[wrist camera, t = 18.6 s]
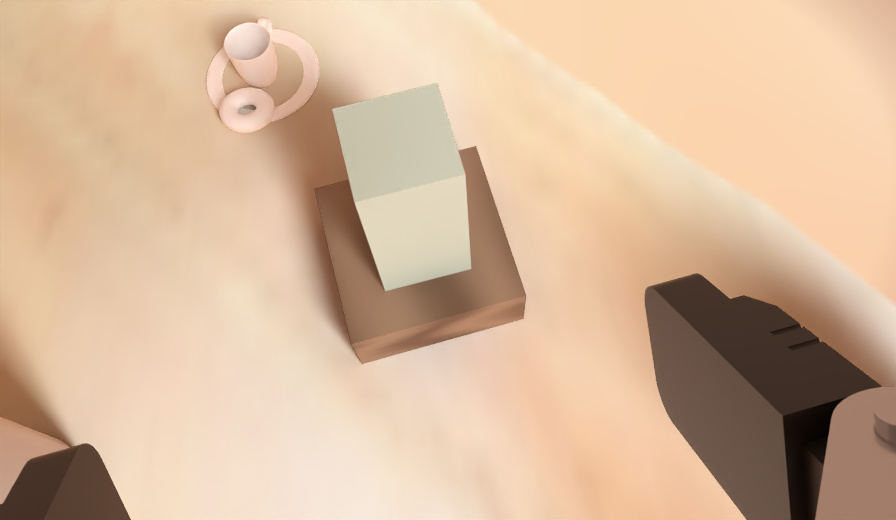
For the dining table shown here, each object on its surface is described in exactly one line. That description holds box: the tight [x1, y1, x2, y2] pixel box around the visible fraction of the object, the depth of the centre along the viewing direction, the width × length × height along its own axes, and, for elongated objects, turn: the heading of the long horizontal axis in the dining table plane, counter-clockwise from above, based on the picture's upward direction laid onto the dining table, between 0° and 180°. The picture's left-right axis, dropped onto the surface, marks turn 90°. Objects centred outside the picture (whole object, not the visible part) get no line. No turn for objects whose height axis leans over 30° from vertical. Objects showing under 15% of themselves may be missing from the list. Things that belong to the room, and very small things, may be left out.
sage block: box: [332, 83, 471, 291], centre depth 41 cm, size 5×5×11 cm
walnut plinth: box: [315, 146, 526, 364], centre depth 48 cm, size 10×10×4 cm
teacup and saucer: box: [206, 17, 319, 133], centre depth 55 cm, size 9×8×4 cm
